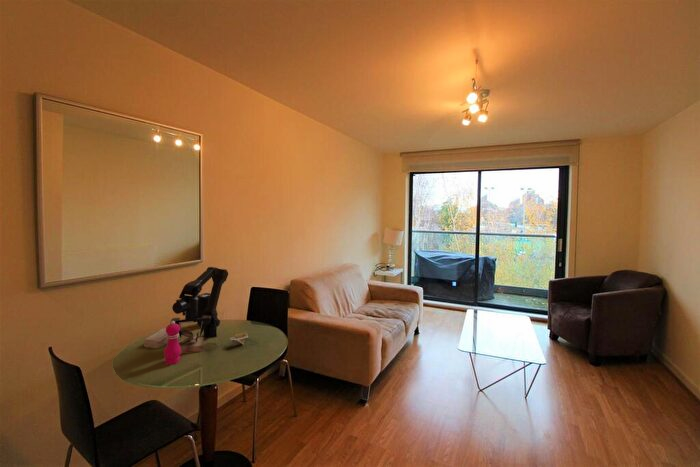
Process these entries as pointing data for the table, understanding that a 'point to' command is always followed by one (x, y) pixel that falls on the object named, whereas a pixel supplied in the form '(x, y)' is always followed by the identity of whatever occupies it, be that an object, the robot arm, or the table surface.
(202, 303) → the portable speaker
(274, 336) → the table surface
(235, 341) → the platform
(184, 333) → the eagle figurine
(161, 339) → the brick
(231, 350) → the table surface
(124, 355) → the table surface
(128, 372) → the table surface
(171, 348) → the pepper mill
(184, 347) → the plinth
